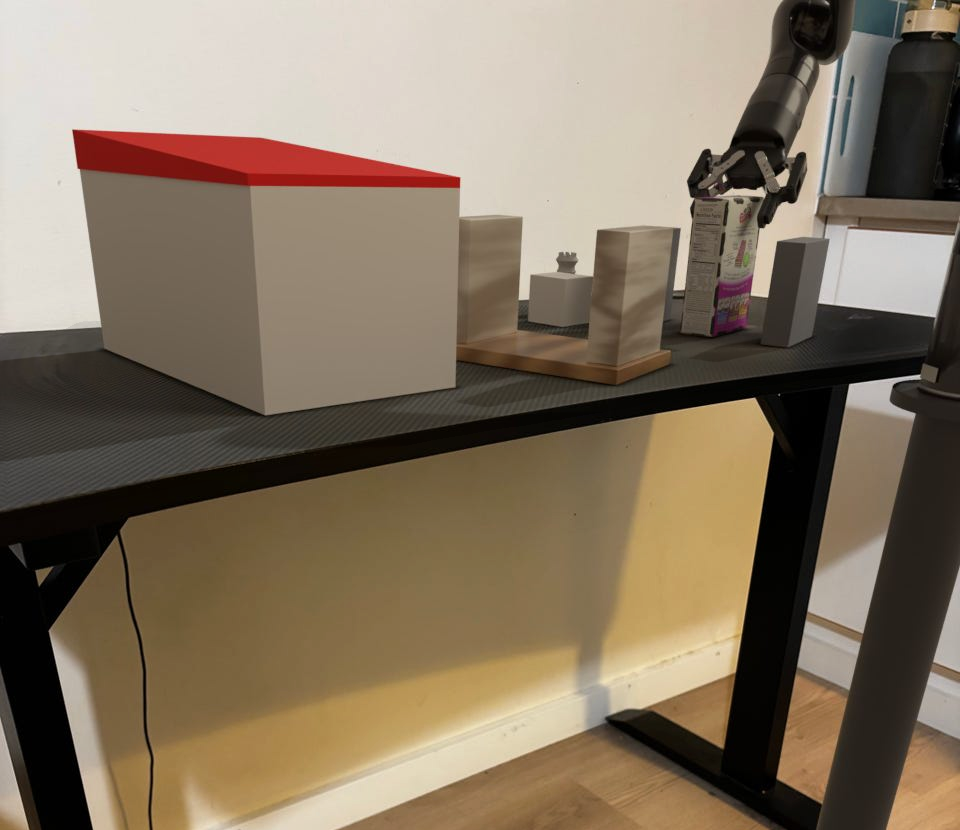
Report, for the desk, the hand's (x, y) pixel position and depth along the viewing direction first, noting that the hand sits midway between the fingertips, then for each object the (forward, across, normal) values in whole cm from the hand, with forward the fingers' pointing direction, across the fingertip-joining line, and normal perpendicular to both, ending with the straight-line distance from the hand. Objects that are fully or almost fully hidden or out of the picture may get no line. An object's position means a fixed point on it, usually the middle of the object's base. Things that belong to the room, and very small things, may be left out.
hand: (727, 221), depth 122 cm
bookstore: (+49, -27, -30) cm, 64 cm away
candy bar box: (+10, 0, +10) cm, 14 cm away
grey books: (+9, 0, +10) cm, 14 cm away
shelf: (+33, -7, -14) cm, 36 cm away
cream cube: (+15, -19, +4) cm, 25 cm away
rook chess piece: (+9, -23, +10) cm, 27 cm away
